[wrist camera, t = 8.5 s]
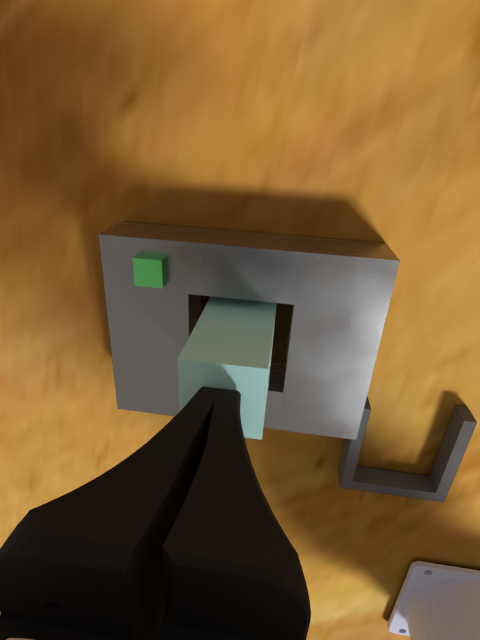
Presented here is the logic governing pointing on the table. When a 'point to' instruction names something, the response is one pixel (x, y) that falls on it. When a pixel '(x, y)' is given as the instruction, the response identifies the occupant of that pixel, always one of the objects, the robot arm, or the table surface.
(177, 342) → the port panel
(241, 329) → the plug
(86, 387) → the table surface
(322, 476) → the table surface
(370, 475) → the holster
